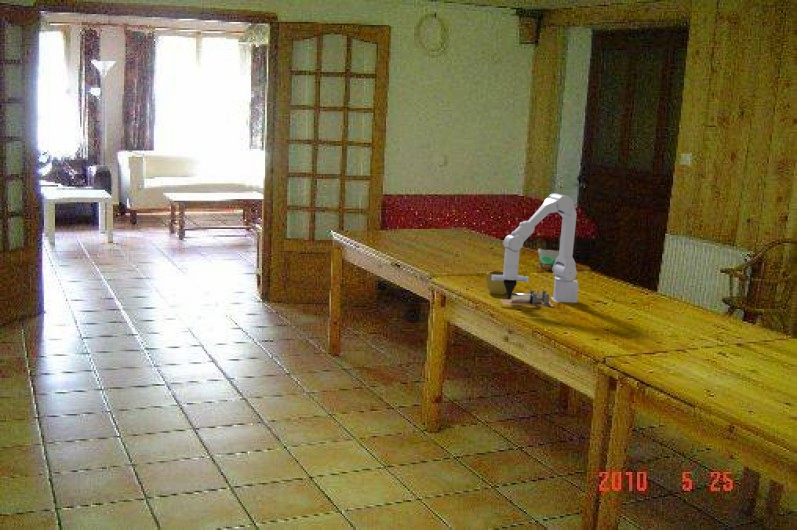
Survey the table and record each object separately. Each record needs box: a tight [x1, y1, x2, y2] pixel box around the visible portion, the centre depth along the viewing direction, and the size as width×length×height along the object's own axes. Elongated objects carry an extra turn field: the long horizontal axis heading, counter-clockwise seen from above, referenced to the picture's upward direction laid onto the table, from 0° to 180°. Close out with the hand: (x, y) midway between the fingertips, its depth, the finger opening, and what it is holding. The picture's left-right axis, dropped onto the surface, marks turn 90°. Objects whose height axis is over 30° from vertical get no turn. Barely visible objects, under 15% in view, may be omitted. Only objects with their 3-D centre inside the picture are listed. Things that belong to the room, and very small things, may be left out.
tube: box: [510, 292, 542, 303], centre depth 329 cm, size 12×4×4 cm, turn 92°
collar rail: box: [528, 289, 552, 307], centre depth 330 cm, size 7×10×4 cm
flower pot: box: [485, 270, 507, 296], centre depth 345 cm, size 9×9×9 cm
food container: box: [537, 248, 559, 270], centre depth 402 cm, size 12×6×10 cm, turn 73°
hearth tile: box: [499, 298, 554, 307], centre depth 330 cm, size 20×10×1 cm, turn 91°
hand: (508, 298), depth 329 cm, fingers closed
